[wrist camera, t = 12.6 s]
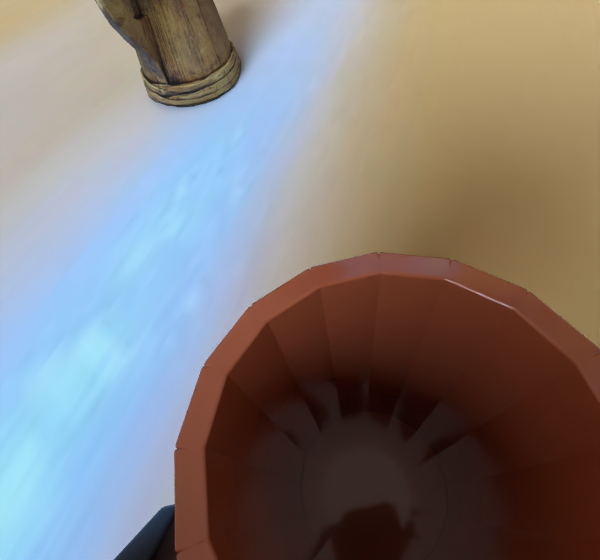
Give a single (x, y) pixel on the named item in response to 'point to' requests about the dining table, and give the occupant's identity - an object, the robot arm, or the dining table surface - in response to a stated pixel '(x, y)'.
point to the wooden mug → (177, 48)
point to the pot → (393, 423)
